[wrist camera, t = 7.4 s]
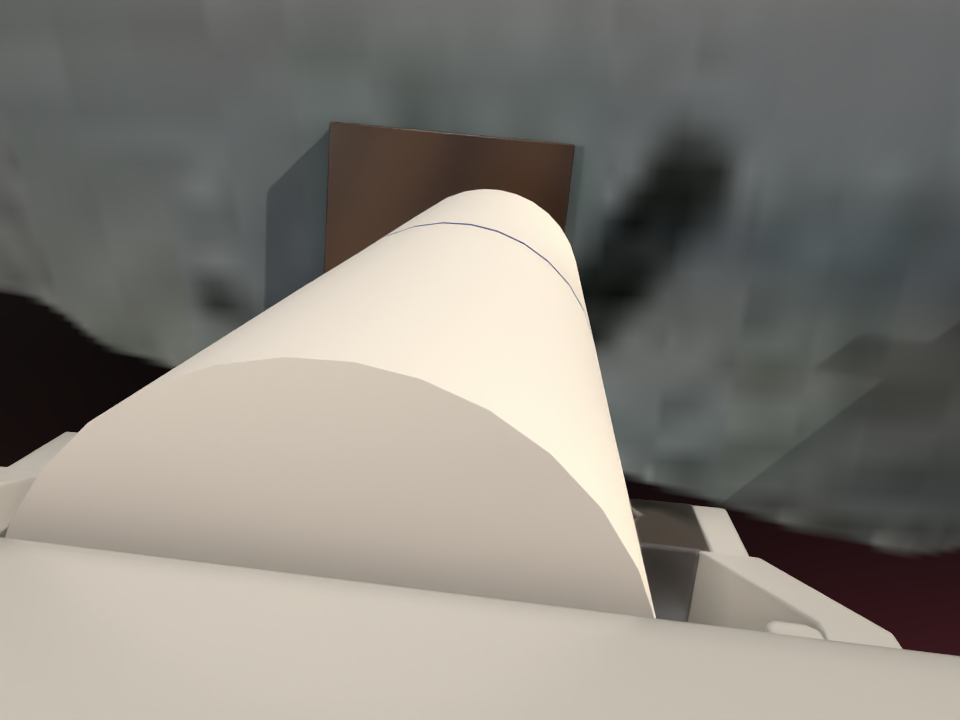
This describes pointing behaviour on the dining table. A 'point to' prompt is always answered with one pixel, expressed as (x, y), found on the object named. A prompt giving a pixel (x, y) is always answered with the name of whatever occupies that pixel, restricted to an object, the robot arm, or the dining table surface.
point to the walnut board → (428, 178)
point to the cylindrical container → (381, 430)
